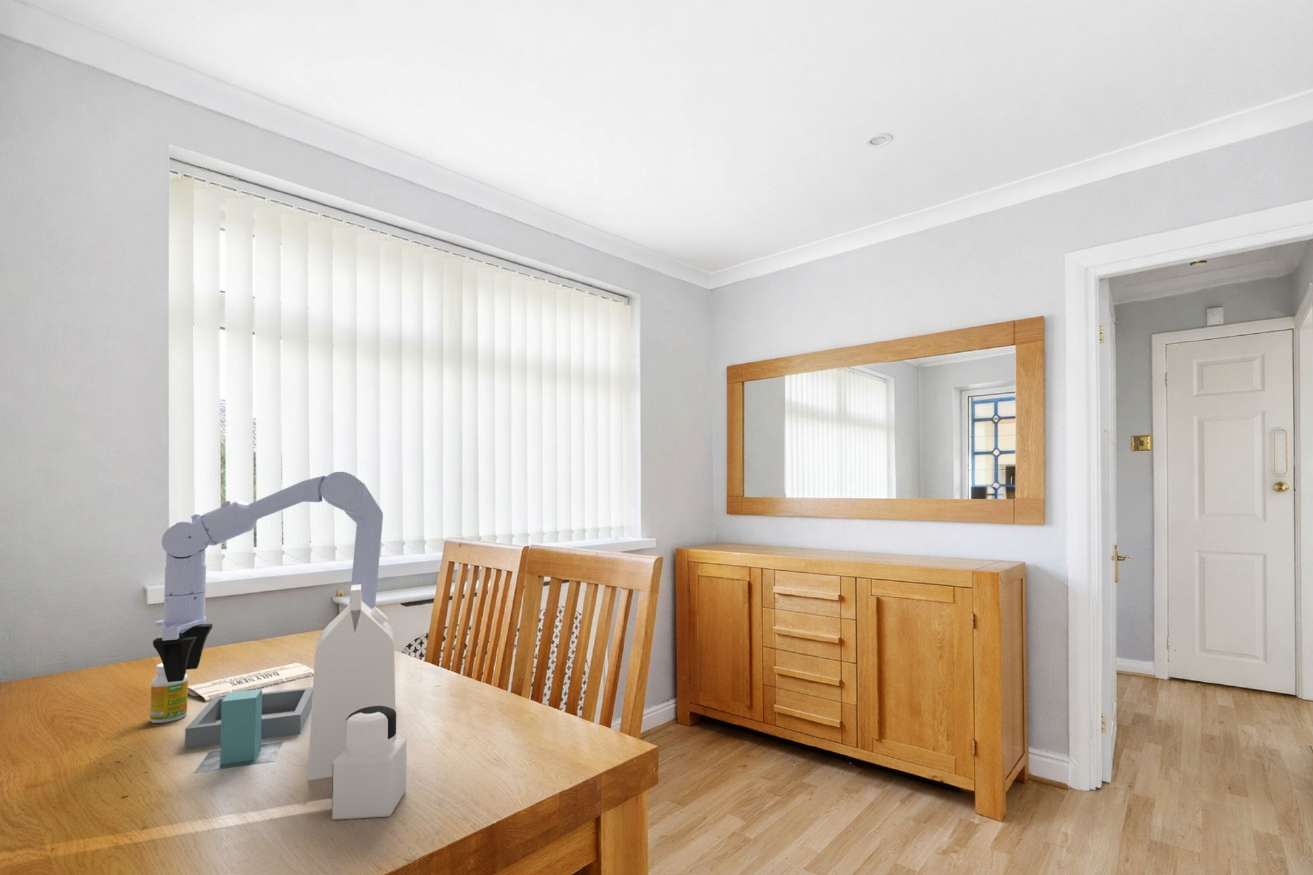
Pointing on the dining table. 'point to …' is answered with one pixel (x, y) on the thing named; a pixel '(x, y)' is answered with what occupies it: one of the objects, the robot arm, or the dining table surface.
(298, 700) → the bin
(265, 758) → the stud plate
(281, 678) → the newspaper
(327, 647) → the milk
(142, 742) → the dining table surface
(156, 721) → the supplement bottle
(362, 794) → the medicine bottle
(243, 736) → the strut
